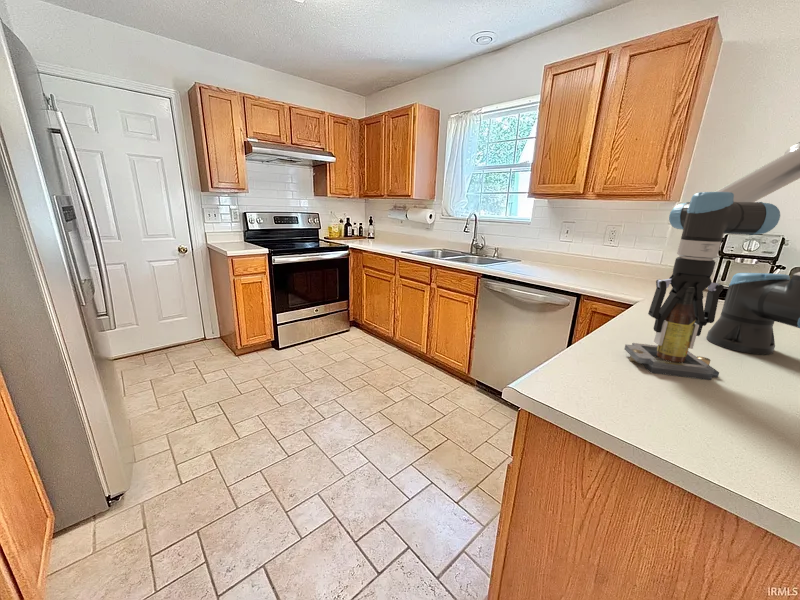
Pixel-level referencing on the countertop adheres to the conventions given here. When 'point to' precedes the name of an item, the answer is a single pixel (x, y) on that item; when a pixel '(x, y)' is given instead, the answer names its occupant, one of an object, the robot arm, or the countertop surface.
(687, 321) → the sauce bottle
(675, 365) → the upper chain end link
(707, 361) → the lower chain end link
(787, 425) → the countertop surface
